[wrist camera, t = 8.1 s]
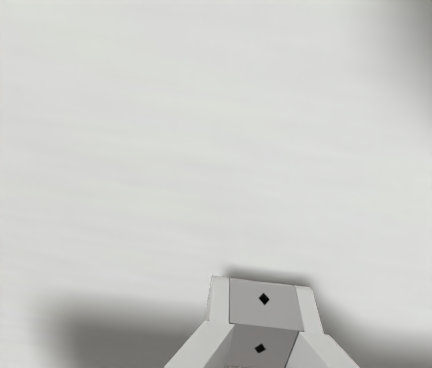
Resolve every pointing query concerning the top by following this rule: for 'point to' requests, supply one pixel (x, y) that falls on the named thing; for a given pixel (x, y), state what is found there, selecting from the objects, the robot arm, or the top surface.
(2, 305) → the top surface
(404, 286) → the top surface
